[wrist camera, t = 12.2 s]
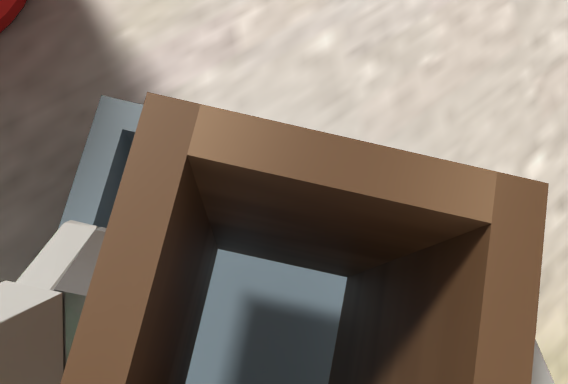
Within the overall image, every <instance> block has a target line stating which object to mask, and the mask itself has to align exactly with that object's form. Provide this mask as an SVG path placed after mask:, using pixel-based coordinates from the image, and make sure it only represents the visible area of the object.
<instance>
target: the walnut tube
mask: <svg viewBox="0 0 568 384" xmlns="http://www.w3.org/2000/svg"><path fill="white" fill-rule="evenodd" d="M547 196H548V183H544V182H540V181H535V180H531V179H526V178H522V177H518V176H513V175H509V174H505V173H500V172H496V171H491V170H487V169H483V168H478V167H474V166H469V165H465V164H461V163H456V162H452V161H448V160H443V159H439V158H434V157H430V156H426V155H421V154H417V153H412V152H408V151H404V150H399V149H395V148H391V147H386V146H382V145H377V144H373V143H369V142H364V141H360V140H355V139H351V138H347V137H342V136H338V135H333V134H329V133H325V132H320V131H316V130H312V129H307V128H303V127H298V126H294V125H290V124H285V123H281V122H276V121H272V120H268V119H263V118H259V117H255V116H250V115H246V114H241V113H237V112H233V111H228V110H224V109H219V108H215V107H211V106H206V105H202V104H198V103H193V102H189V101H184V100H180V99H176V98H171V97H167V96H162V95H158V94H154V93H149V92H147V95H146V98H145V101H144V105H143V108H142V111H141V115H140V118H139V122H138V125H137V128H136V132H135V135H134V138H133V142H132V145H131V148H130V152H129V155H128V158H127V162H126V165H125V168H124V172H123V175H122V178H121V182H120V185H119V188H118V192H117V195H116V199H115V202H114V205H113V209H112V212H111V215H110V219H109V222H108V225H107V229H106V232H105V235H104V239H103V242H102V245H101V249H100V252H99V255H98V259H97V262H96V265H95V269H94V272H93V276H92V279H91V282H90V286H89V289H88V292H87V296H86V299H85V302H84V306H83V309H82V312H81V316H80V319H79V322H78V326H77V329H76V332H75V336H74V339H73V342H72V346H71V349H70V352H69V356H68V359H67V363H66V366H65V369H64V373H63V376H62V379H61V383H60V384H185V383H186V379H187V375H188V371H189V367H190V363H191V359H192V354H193V350H194V346H195V342H196V338H197V334H198V330H199V326H200V321H201V317H202V313H203V309H204V305H205V301H206V297H207V293H208V288H209V284H210V280H211V276H212V272H213V268H214V264H215V260H216V255H217V251H218V249H221V250H225V251H230V252H234V253H239V254H243V255H248V256H252V257H257V258H261V259H266V260H270V261H275V262H280V263H284V264H289V265H293V266H298V267H302V268H307V269H311V270H316V271H320V272H325V273H330V274H334V275H339V276H343V277H347V281H346V287H345V293H344V298H343V304H342V309H341V315H340V321H339V326H338V332H337V338H336V343H335V349H334V354H333V360H332V366H331V371H330V377H329V382H328V384H531V380H532V369H533V357H534V346H535V334H536V323H537V311H538V299H539V288H540V276H541V265H542V253H543V242H544V230H545V219H546V207H547Z"/></svg>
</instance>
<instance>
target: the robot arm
mask: <svg viewBox="0 0 568 384" xmlns="http://www.w3.org/2000/svg"><path fill="white" fill-rule="evenodd" d="M106 229H107V228H104V227H98V226H95V225H90V224H86V223H82V222H77V221H73V220H69V221H67V222H65V223H63V224H62V225H61V227H60V228H59V229H58V230H57V232H56V233H55V234H54V235H53V236H52V238H51V239H50V240H49V241H48V243H47V244H46V245H45V246H44V248H43V249H42V250H41V251H40V252H39V254H38V255H37V256H36V257H35V259H34V260H33V261H32V262H31V264H30V265H29V266H28V267H27V268H26V270H25V271H24V272H23V273H22V275H21V276H20V277H19V278H18V280H17V281H16V282H11V281H3V282H1V283H0V384H60V383H61V379H62V376H63V373H64V369H65V366H66V363H67V359H68V356H69V352H70V349H71V346H72V342H73V339H74V336H75V332H76V329H77V326H78V322H79V319H80V316H81V312H82V309H83V306H84V302H85V299H86V296H87V292H88V289H89V286H90V282H91V279H92V276H93V272H94V269H95V265H96V262H97V259H98V255H99V252H100V249H101V245H102V242H103V239H104V235H105V232H106ZM531 384H555V383H554V380H553V378H552V376H551V374H550V371H549V369H548V367H547V365H546V362H545V360H544V358H543V356H542V353H541V351H540V349H539V347H538V344H537V342H536V340H535V346H534V357H533V369H532V380H531Z"/></svg>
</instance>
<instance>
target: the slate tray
mask: <svg viewBox="0 0 568 384" xmlns="http://www.w3.org/2000/svg"><path fill="white" fill-rule="evenodd" d="M142 108H143V105H142V104H138V103H134V102H129V101H125V100H121V99H116V98H112V97H108V96H103V95H101V98H100V101H99V104H98V107H97V110H96V113H95V116H94V120H93V123H92V126H91V129H90V132H89V135H88V138H87V141H86V144H85V147H84V150H83V154H82V157H81V160H80V163H79V166H78V169H77V172H76V175H75V178H74V181H73V185H72V188H71V191H70V194H69V197H68V200H67V203H66V206H65V209H64V212H63V215H62V219H61V222H60V225H59V228H60V227H61V225H62V224H63V223H65V222H67V221H69V220H73V221H77V222H82V223H86V224H90V225H95V226H98V227H104V228H107V225H108V222H109V219H110V215H111V212H112V209H113V205H114V202H115V199H116V195H117V192H118V188H119V185H120V182H121V178H122V175H123V172H124V168H125V165H126V162H127V158H128V155H129V152H130V148H131V145H132V142H133V138H134V135H135V132H136V128H137V125H138V122H139V118H140V115H141V111H142ZM59 228H58V229H59ZM346 281H347V277H343V276H339V275H334V274H330V273H325V272H320V271H316V270H311V269H307V268H302V267H298V266H293V265H289V264H284V263H280V262H275V261H270V260H266V259H261V258H257V257H252V256H248V255H243V254H239V253H234V252H230V251H225V250H221V249H218V251H217V255H216V260H215V264H214V268H213V272H212V276H211V280H210V284H209V288H208V293H207V297H206V301H205V305H204V309H203V313H202V317H201V321H200V326H199V330H198V334H197V338H196V342H195V346H194V350H193V354H192V359H191V363H190V367H189V371H188V375H187V379H186V383H185V384H328V382H329V377H330V371H331V366H332V360H333V354H334V349H335V343H336V338H337V332H338V326H339V321H340V315H341V309H342V304H343V298H344V293H345V287H346Z"/></svg>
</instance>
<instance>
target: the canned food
mask: <svg viewBox="0 0 568 384" xmlns="http://www.w3.org/2000/svg"><path fill="white" fill-rule="evenodd" d="M26 1H27V0H0V33H1V32H2V31H3V30H4V29H5V28H6V27H7V26H8V25H10V24H11V22H12V21H13V20H14V19H15V17H16V16H17V15H18V13H19V12H20V11H21V10H22V8H23V7H24V5H25V3H26Z"/></svg>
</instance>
